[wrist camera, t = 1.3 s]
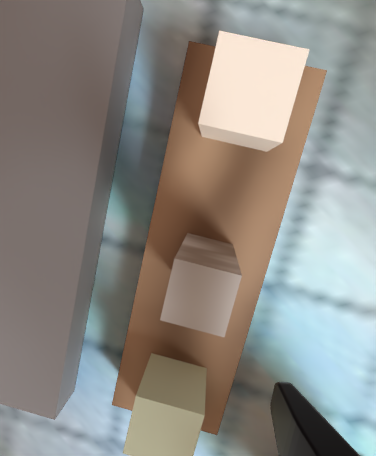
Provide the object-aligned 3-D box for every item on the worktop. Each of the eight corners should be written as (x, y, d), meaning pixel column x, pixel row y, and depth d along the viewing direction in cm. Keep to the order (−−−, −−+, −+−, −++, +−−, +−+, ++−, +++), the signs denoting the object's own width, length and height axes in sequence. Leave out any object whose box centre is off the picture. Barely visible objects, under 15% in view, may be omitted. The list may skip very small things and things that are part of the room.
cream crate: (286, 81, 16) (309, 49, 12) (266, 151, 17) (282, 142, 13) (218, 66, 16) (219, 30, 12) (201, 136, 17) (198, 123, 13)
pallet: (309, 87, 19) (393, 5, 10) (216, 402, 23) (217, 538, 14) (193, 62, 19) (174, -39, 10) (124, 377, 24) (71, 493, 15)
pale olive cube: (206, 368, 20) (204, 415, 16) (193, 415, 20) (188, 472, 16) (151, 353, 20) (135, 395, 16) (140, 400, 21) (122, 453, 17)
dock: (143, 9, 19) (130, -24, 16) (74, 390, 24) (54, 419, 21) (-32, -28, 19) (-76, -65, 16) (-61, 352, 25) (-98, 375, 22)
